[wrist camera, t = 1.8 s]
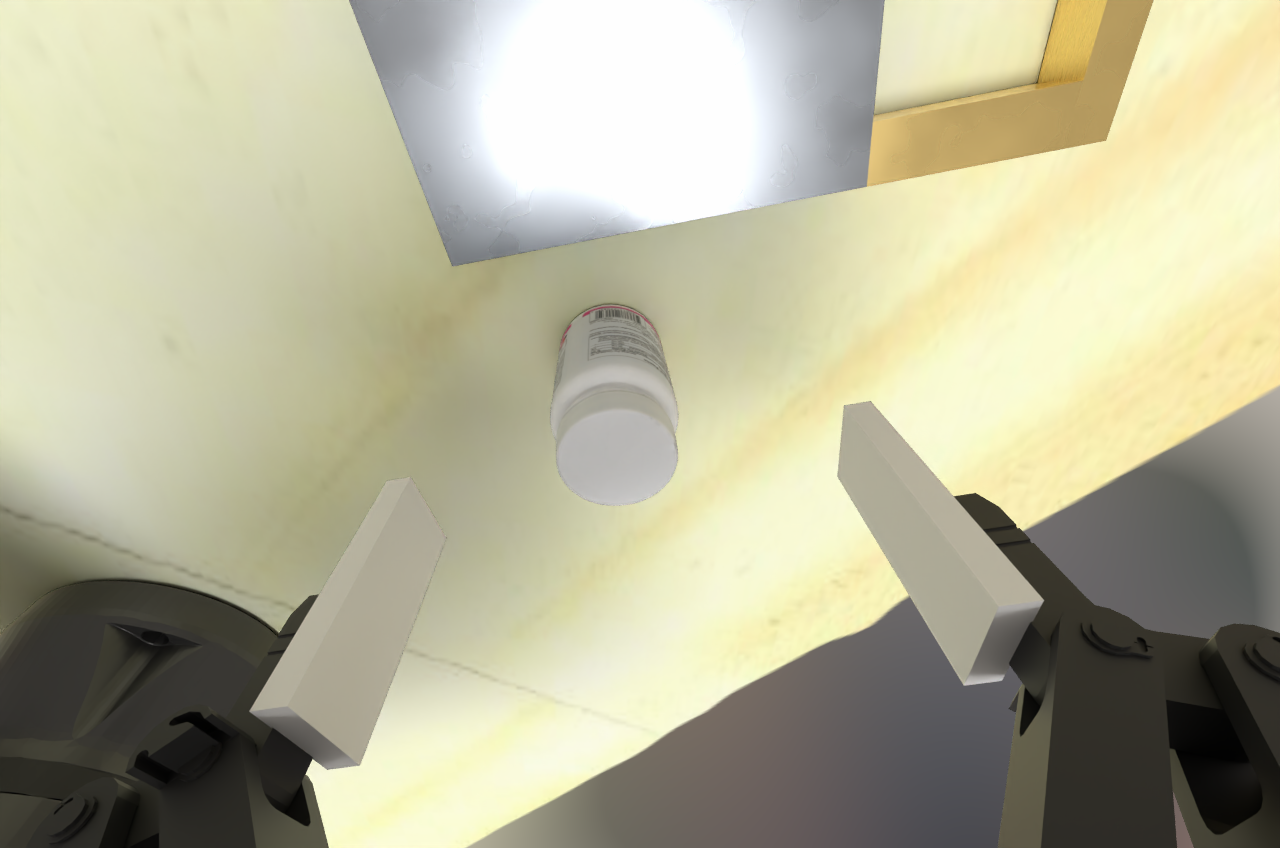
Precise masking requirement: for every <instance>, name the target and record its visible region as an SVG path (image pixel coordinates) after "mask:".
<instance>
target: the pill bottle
mask: <svg viewBox="0 0 1280 848" xmlns="http://www.w3.org/2000/svg"><path fill="white" fill-rule="evenodd" d="M550 423H551V429H552V432H553V436H554V438H555V440H556V463H557V468H558V471H559V474H560V476H561V478H562V480H563V481H564V483H565V484H566V485H567V486H568V487H569V489H571V490H572V491H573V492H574V493H576V494H577V495H578V496H580V497H582V498H584V499H585V500H588V501H590V502H594V503H597V504H602V505H613V506H615V505H628V504H634V503H637V502H640V501H643V500H645V499H647V498H649V497H651V496H653V495H654V494H656V493H657V492H659V491H660V490H661V489H662V488H663V487H664V486H665V485H666V484H667V483H668V482H669V481H670V479H671V477H672V475H673V474H674V471H675V469H676V465H677V461H678V449H677V443H676V436H675V433H676V430H677V426H678V407H677V401H676V398H675V394H674V391H673V387H672V383H671V379H670V375H669V371H668V367H667V364H666V360H665V356H664V353H663V349H662V345H661V341H660V339H659V336H658V334H657V332H656V330H655V328H654V327H653V325H652V324H651V323H650V322H649V321H648V319H646V318H645V317H644V316H643V315H642V314H640V313H639V312H637V311H635V310H633V309H631V308H628V307H625V306H621V305H610V304H609V305H601V306H597V307H594V308H591V309H589V310H587V311H585V312H583V313H581V314H580V315H579V316H577V317H576V318H575V319H574V320H573V321H572V322H571V323H570V325H569V326H568V327H567V329H566V331H565V333H564V335H563V338H562V341H561V344H560V350H559V357H558V363H557V371H556V377H555V384H554V391H553V398H552V403H551V412H550Z"/></svg>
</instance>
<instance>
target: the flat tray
mask: <svg viewBox="0 0 1280 848" xmlns="http://www.w3.org/2000/svg"><path fill="white" fill-rule="evenodd" d="M349 1H350V4H351V6H352V9H353V11H354V14H355V17H356V19H357V22H358V24H359V27H360V29H361V32H362V35H363V37H364V40H365V42H366V45H367V48H368V50H369V53H370V55H371V58H372V60H373V63H374V66H375V68H376V71H377V73H378V76H379V78H380V81H381V84H382V86H383V89H384V91H385V94H386V97H387V99H388V102H389V104H390V107H391V109H392V112H393V115H394V117H395V120H396V122H397V125H398V127H399V130H400V133H401V135H402V138H403V140H404V143H405V146H406V148H407V151H408V153H409V156H410V158H411V161H412V164H413V166H414V169H415V171H416V174H417V176H418V179H419V182H420V184H421V187H422V189H423V192H424V195H425V197H426V200H427V202H428V205H429V207H430V210H431V213H432V215H433V218H434V220H435V223H436V225H437V228H438V231H439V233H440V236H441V238H442V241H443V244H444V246H445V249H446V251H447V254H448V256H449V259H450V262H451V264H452V266H457V265H462V264H467V263H473V262H478V261H483V260H488V259H493V258H499V257H504V256H509V255H514V254H519V253H525V252H530V251H535V250H540V249H545V248H551V247H556V246H561V245H566V244H571V243H577V242H582V241H587V240H592V239H597V238H602V237H608V236H613V235H618V234H623V233H628V232H634V231H639V230H644V229H649V228H654V227H660V226H665V225H670V224H675V223H680V222H686V221H691V220H696V219H701V218H706V217H712V216H717V215H722V214H727V213H732V212H738V211H743V210H748V209H753V208H758V207H763V206H769V205H774V204H779V203H784V202H789V201H795V200H800V199H805V198H810V197H815V196H821V195H826V194H831V193H836V192H841V191H847V190H852V189H857V188H862V187H867V186H873V185H878V184H883V183H888V182H893V181H899V180H904V179H909V178H914V177H919V176H924V175H930V174H935V173H940V172H945V171H950V170H956V169H961V168H966V167H971V166H976V165H982V164H987V163H992V162H997V161H1002V160H1008V159H1013V158H1018V157H1023V156H1028V155H1034V154H1039V153H1044V152H1049V151H1054V150H1060V149H1065V148H1070V147H1075V146H1080V145H1085V144H1091V143H1096V142H1101V141H1106V139H1107V136H1108V133H1109V130H1110V127H1111V124H1112V121H1113V118H1114V116H1115V113H1116V110H1117V107H1118V104H1119V101H1120V98H1121V95H1122V92H1123V89H1124V86H1125V83H1126V80H1127V77H1128V74H1129V71H1130V68H1131V65H1132V62H1133V59H1134V56H1135V53H1136V50H1137V47H1138V44H1139V42H1140V39H1141V36H1142V33H1143V30H1144V27H1145V24H1146V21H1147V18H1148V15H1149V12H1150V9H1151V6H1152V3H1153V0H1058V4H1057V8H1056V11H1055V15H1054V19H1053V23H1052V27H1051V31H1050V35H1049V39H1048V43H1047V47H1046V51H1045V55H1044V59H1043V63H1042V67H1041V71H1040V75H1039V79H1038V83H1035V84H1030V85H1025V86H1020V87H1015V88H1010V89H1005V90H1000V91H995V92H989V93H984V94H979V95H974V96H969V97H964V98H959V99H954V100H949V101H944V102H939V103H934V104H929V105H924V106H919V107H914V108H909V109H904V110H899V111H894V112H888V113H883V114H878V115H874V106H875V95H876V85H877V74H878V64H879V53H880V43H881V32H882V22H883V11H884V1H885V0H349Z"/></svg>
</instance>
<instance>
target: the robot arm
mask: <svg viewBox="0 0 1280 848" xmlns="http://www.w3.org/2000/svg"><path fill="white" fill-rule="evenodd" d="M837 477H838V478H839V480H840V482H841V483H842V485H843V487H844V488H845V490H846V492H847V493H848V495H849V497H850V498H851V500H852V501H853V503H854V505H855V506H856V508H857V510H858V511H859V513H860V515H861V516H862V518H863V520H864V521H865V523H866V525H867V526H868V528H869V530H870V531H871V533H872V535H873V536H874V538H875V539H876V541H877V543H878V544H879V546H880V548H881V549H882V551H883V553H884V554H885V556H886V558H887V559H888V561H889V563H890V564H891V566H892V568H893V569H894V571H895V573H896V574H897V576H898V577H899V579H900V581H901V582H902V584H903V586H904V587H905V589H906V591H907V592H908V594H909V596H910V597H911V599H912V601H913V602H914V604H915V605H916V607H917V609H918V610H919V612H920V614H921V615H922V617H923V619H924V620H925V622H926V624H927V625H928V627H929V629H930V630H931V632H932V634H933V635H934V637H935V639H936V640H937V642H938V643H939V645H940V647H941V648H942V650H943V652H944V653H945V655H946V657H947V658H948V660H949V662H950V663H951V665H952V667H953V668H954V670H955V671H956V673H957V675H958V677H959V678H960V680H961V681H962V683H963V684H964V686H965V685H972V684H979V683H988V682H995V681H1002V679H1003V678H1004V675H1005V674H1006V672H1007V670H1008V668H1009V666H1011V667H1012V669H1013V670H1014V672H1015V673H1016V674H1017V676H1018V677H1019V678H1020V680H1021V681H1022V683H1023V684H1022V685H1021V687H1020V689H1019V691H1018V692H1017V694H1016V696H1015V698H1014V699H1013V701H1012V703H1011V705H1010V707H1009V709H1010V710H1012V711H1014V712H1016V718H1015V725H1014V733H1013V740H1012V747H1011V754H1010V762H1009V769H1008V776H1007V784H1006V791H1005V798H1004V806H1003V813H1002V820H1001V827H1000V835H999V842H998V848H1177V842H1176V829H1175V815H1174V802H1173V792H1174V794H1175V797H1176V800H1177V802H1178V805H1179V807H1180V811H1181V813H1182V816H1183V819H1184V822H1185V824H1186V827H1187V830H1188V833H1189V835H1190V838H1191V841H1192V843H1193V846H1194V848H1280V633H1278V632H1275V631H1271V630H1268V629H1265V628H1262V627H1258V626H1255V625H1244V624H1232V625H1228V626H1224V627H1221V628H1220V629H1219V630H1218V631H1217V632H1216V633H1215V634H1214V636H1212V637H1211V638H1210V639H1206V638H1198V637H1191V636H1184V635H1177V634H1170V633H1163V632H1156V631H1151V630H1147V629H1144V628H1143V627H1141V626H1140V625H1139V624H1137V623H1136V622H1134V621H1133V620H1132V619H1130V618H1129V617H1127V616H1125V615H1122V614H1120V613H1118V612H1116V611H1114V610H1111V609H1109V608H1104V607H1100V606H1096V605H1094V604H1093V603H1092V602H1091V601H1090V600H1088V599H1087V598H1086V597H1085V596H1084V595H1083V594H1082V593H1081V592H1080V591H1079V590H1078V589H1077V587H1076V586H1075V585H1074V584H1073V583H1072V582H1071V581H1070V580H1069V579H1068V578H1067V577H1066V576H1065V575H1064V574H1063V573H1062V572H1061V571H1060V570H1059V569H1058V568H1057V567H1056V566H1055V565H1054V564H1053V563H1052V561H1051V560H1050V559H1049V558H1048V557H1047V556H1046V555H1045V554H1044V553H1043V552H1042V551H1041V550H1040V549H1039V548H1038V547H1037V546H1036V545H1035V544H1034V543H1031V542H1030V539H1029V538H1028V537H1027V536H1026V534H1025V533H1024V532H1023V531H1022V530H1021V529H1020V528H1017V527H1016V524H1015V523H1014V522H1013V521H1012V520H1011V519H1010V518H1009V517H1008V516H1007V515H1006V514H1005V513H1004V512H1003V510H1002V509H1001V508H1000V507H998V506H997V505H995V504H993V503H992V502H990V501H988V500H986V499H985V498H983V497H981V496H980V495H978V494H976V493H973V494H966V495H960V496H953V495H952V494H951V493H950V492H949V491H948V489H947V488H946V487H945V486H944V485H943V484H942V483H941V481H940V480H939V479H938V478H937V477H936V476H935V474H934V473H933V472H932V471H931V470H930V469H929V468H928V466H927V465H926V464H925V463H924V462H923V461H922V460H921V458H920V457H919V456H918V455H917V454H916V453H915V452H914V450H913V449H912V448H911V447H910V446H909V445H908V443H907V442H906V441H905V440H904V439H903V438H902V437H901V435H900V434H899V433H898V432H897V431H896V430H895V429H894V427H893V426H892V425H891V424H890V423H889V422H888V420H887V419H886V418H885V417H884V416H883V415H882V414H881V412H880V411H879V410H878V409H877V408H876V407H875V406H874V404H873V403H872V402H871V401H869V402H862V403H856V404H850V405H844V411H843V422H842V433H841V443H840V454H839V465H838V476H837ZM445 541H446V536H445V534H444V533H443V531H442V529H441V527H440V526H439V524H438V522H437V521H436V519H435V517H434V515H433V514H432V512H431V510H430V509H429V507H428V505H427V503H426V502H425V500H424V498H423V497H422V495H421V493H420V491H419V490H418V488H417V486H416V485H415V483H414V481H413V479H412V478H411V477H407V478H401V479H395V480H389V481H387V482H386V483H385V485H384V487H383V488H382V490H381V492H380V493H379V495H378V497H377V498H376V500H375V502H374V503H373V505H372V507H371V508H370V510H369V512H368V513H367V515H366V517H365V518H364V520H363V522H362V523H361V525H360V527H359V528H358V530H357V532H356V533H355V535H354V537H353V539H352V540H351V542H350V544H349V545H348V547H347V549H346V550H345V552H344V554H343V555H342V557H341V559H340V560H339V562H338V564H337V565H336V567H335V569H334V570H333V572H332V574H331V575H330V577H329V579H328V580H327V582H326V584H325V585H324V587H323V589H322V590H321V592H320V594H319V595H312V596H309V597H308V598H307V599H306V600H305V601H304V602H303V603H302V604H301V605H300V606H299V607H298V608H297V609H296V610H295V611H294V612H293V613H292V614H291V615H290V617H289V619H288V620H287V622H286V623H285V625H284V627H283V628H282V630H281V631H280V633H279V634H278V637H277V636H276V635H275V634H274V633H273V632H272V631H271V630H269V629H268V628H267V627H265V626H264V625H263V624H261V623H260V622H258V621H257V620H255V619H254V618H252V617H250V616H248V615H247V614H245V613H243V612H241V611H239V610H237V609H235V608H233V607H231V606H228V605H226V604H224V603H221V602H219V601H216V600H213V599H211V598H208V597H205V596H202V595H199V594H195V593H192V592H188V591H184V590H180V589H176V588H172V587H167V586H161V585H155V584H148V583H140V582H129V581H95V582H85V583H78V584H73V585H69V586H65V587H62V588H59V589H56V590H54V591H51V592H49V593H47V594H46V595H44V596H42V597H41V598H40V599H38V600H37V601H36V602H35V603H34V604H33V605H31V606H30V607H29V608H28V609H27V610H26V611H25V612H23V613H22V614H21V615H20V616H19V617H18V618H17V619H15V620H14V621H13V622H12V623H11V624H10V625H9V626H8V627H6V629H5V630H4V631H3V632H2V633H1V634H0V848H329V847H328V843H327V839H326V835H325V831H324V827H323V823H322V819H321V815H320V811H319V808H318V804H317V800H316V796H315V792H314V788H313V784H312V782H311V781H310V779H309V777H308V776H307V775H305V774H306V772H307V770H308V767H309V765H310V763H311V761H312V759H314V760H315V761H316V762H318V763H319V764H320V765H322V766H323V767H324V768H326V769H327V770H328V769H336V768H344V767H351V766H359V765H360V764H361V761H362V759H363V756H364V753H365V751H366V748H367V746H368V743H369V740H370V738H371V735H372V732H373V730H374V727H375V725H376V722H377V719H378V717H379V714H380V711H381V709H382V706H383V704H384V701H385V698H386V696H387V693H388V690H389V688H390V685H391V683H392V680H393V677H394V675H395V672H396V669H397V667H398V664H399V662H400V659H401V656H402V654H403V651H404V648H405V646H406V643H407V641H408V638H409V635H410V633H411V630H412V627H413V625H414V622H415V620H416V617H417V614H418V612H419V609H420V606H421V604H422V601H423V599H424V596H425V593H426V591H427V588H428V585H429V583H430V580H431V577H432V575H433V572H434V570H435V567H436V564H437V562H438V559H439V556H440V554H441V551H442V549H443V546H444V543H445Z"/></svg>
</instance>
